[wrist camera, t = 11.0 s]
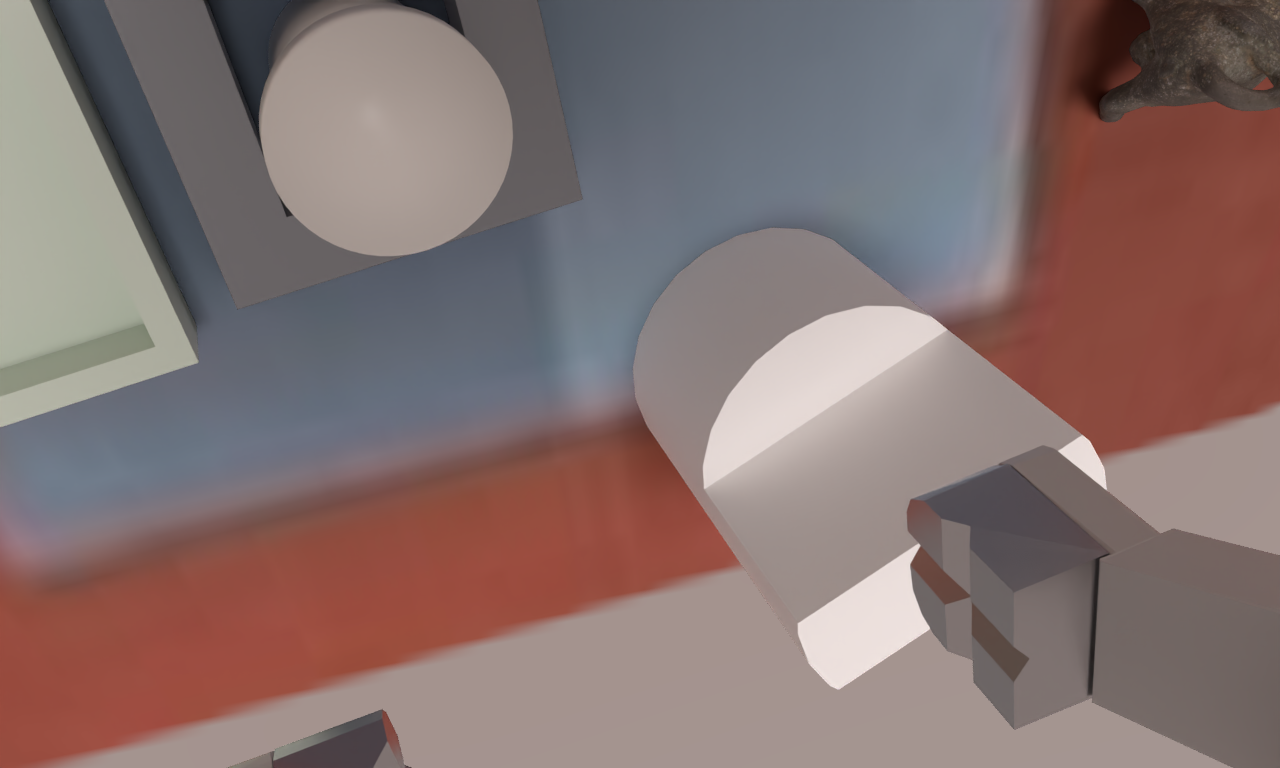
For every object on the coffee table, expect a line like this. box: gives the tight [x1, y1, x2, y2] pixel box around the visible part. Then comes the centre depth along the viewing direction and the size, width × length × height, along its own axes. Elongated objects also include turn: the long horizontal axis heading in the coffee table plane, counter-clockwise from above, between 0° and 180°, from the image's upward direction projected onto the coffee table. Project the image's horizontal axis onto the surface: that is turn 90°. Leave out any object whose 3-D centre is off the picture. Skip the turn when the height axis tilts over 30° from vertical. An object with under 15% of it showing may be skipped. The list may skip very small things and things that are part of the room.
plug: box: [259, 0, 513, 256], centre depth 27 cm, size 5×5×7 cm
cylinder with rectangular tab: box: [633, 228, 1107, 690], centre depth 34 cm, size 9×9×12 cm
